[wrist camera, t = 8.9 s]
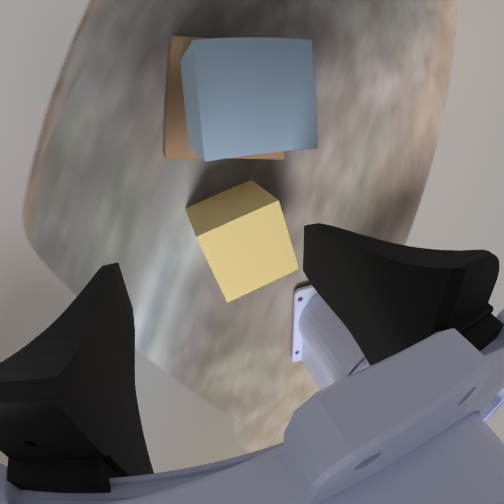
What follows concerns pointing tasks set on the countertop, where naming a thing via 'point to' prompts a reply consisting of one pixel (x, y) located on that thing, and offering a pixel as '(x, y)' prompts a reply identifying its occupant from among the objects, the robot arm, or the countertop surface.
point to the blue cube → (249, 96)
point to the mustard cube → (243, 238)
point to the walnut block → (175, 108)
